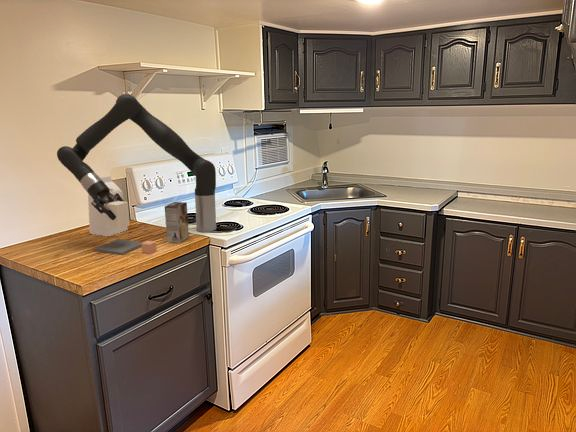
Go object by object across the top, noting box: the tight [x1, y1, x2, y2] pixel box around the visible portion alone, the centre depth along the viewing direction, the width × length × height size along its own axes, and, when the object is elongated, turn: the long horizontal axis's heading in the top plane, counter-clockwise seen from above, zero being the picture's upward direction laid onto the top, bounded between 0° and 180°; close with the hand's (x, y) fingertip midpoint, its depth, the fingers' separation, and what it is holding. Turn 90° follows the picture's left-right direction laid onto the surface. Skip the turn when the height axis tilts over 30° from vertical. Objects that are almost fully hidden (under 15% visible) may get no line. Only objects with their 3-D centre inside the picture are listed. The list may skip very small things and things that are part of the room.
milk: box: [87, 175, 129, 237], centre depth 203 cm, size 12×12×26 cm
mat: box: [94, 238, 145, 256], centre depth 183 cm, size 14×14×1 cm
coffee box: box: [164, 201, 190, 244], centre depth 193 cm, size 9×6×16 cm
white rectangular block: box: [104, 201, 131, 229], centre depth 180 cm, size 6×6×10 cm
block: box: [141, 240, 157, 255], centre depth 178 cm, size 4×4×4 cm
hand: (120, 216), depth 179 cm, fingers closed on white rectangular block, 6 cm apart
